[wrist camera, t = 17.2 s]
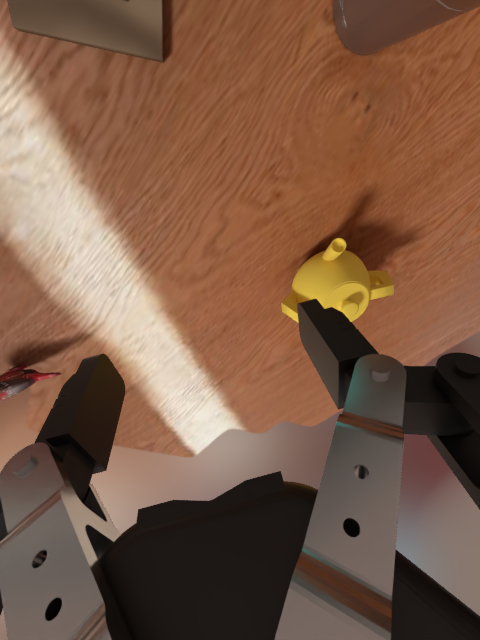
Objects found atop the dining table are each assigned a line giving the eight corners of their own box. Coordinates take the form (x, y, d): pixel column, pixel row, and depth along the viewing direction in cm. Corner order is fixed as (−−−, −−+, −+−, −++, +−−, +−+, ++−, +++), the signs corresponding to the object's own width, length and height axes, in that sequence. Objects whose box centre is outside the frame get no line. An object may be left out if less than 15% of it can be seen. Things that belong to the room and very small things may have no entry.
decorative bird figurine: (-23, 373, 49) (-66, 421, 41) (69, 343, 48) (44, 385, 40) (-10, 384, 51) (-49, 432, 42) (79, 354, 50) (57, 397, 42)
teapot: (262, 239, 43) (281, 267, 34) (370, 206, 43) (419, 225, 34) (281, 334, 55) (300, 373, 46) (367, 308, 55) (403, 343, 46)
